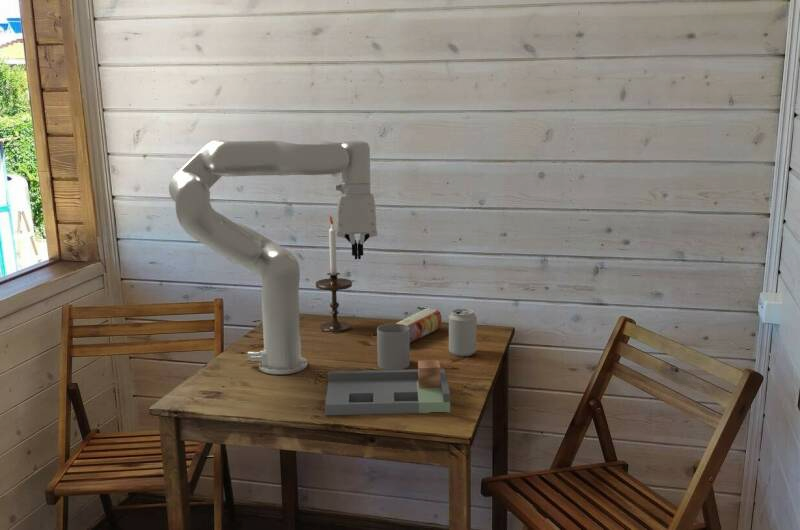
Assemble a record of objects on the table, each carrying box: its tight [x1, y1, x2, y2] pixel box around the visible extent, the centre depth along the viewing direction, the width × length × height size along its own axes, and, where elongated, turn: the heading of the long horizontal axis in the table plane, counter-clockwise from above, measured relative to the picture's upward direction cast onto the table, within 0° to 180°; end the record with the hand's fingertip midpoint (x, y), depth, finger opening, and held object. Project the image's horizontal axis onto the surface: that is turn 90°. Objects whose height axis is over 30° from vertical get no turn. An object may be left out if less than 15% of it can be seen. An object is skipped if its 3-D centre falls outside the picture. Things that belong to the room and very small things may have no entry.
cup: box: [376, 323, 411, 370], centre depth 213 cm, size 8×8×10 cm
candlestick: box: [315, 215, 353, 334], centre depth 242 cm, size 11×11×35 cm
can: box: [448, 308, 478, 358], centre depth 221 cm, size 8×8×12 cm
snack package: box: [395, 307, 442, 343], centre depth 235 cm, size 21×7×7 cm, turn 146°
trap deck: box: [324, 368, 451, 416], centre depth 189 cm, size 28×16×4 cm, turn 92°
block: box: [417, 359, 441, 388], centre depth 192 cm, size 5×5×5 cm
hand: (357, 258), depth 215 cm, fingers closed
